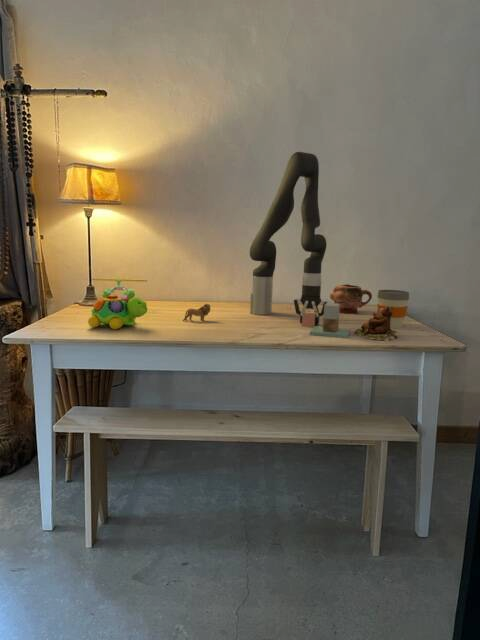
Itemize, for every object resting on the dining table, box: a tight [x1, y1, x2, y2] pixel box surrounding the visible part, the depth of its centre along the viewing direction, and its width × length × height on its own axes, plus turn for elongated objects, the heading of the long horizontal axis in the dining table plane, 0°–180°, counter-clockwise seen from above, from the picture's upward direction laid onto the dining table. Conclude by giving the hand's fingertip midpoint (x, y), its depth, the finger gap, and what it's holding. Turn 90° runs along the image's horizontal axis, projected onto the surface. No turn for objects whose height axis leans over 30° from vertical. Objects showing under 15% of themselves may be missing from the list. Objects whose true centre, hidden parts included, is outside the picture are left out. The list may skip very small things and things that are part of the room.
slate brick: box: [323, 302, 340, 319], centre depth 185 cm, size 5×7×5 cm
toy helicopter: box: [91, 278, 148, 300], centre depth 224 cm, size 25×9×15 cm, turn 93°
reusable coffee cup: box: [376, 289, 410, 329], centre depth 201 cm, size 13×13×15 cm
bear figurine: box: [353, 306, 399, 342], centre depth 182 cm, size 14×15×12 cm
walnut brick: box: [322, 316, 340, 332], centre depth 185 cm, size 5×7×5 cm
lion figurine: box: [182, 303, 211, 323], centre depth 202 cm, size 12×4×7 cm, turn 110°
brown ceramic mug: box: [329, 283, 373, 315], centre depth 230 cm, size 20×12×14 cm, turn 95°
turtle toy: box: [87, 294, 148, 330], centre depth 189 cm, size 17×23×12 cm
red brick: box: [301, 311, 316, 328], centre depth 199 cm, size 5×7×5 cm
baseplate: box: [309, 325, 351, 339], centre depth 186 cm, size 14×12×1 cm
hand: (309, 324), depth 199 cm, fingers closed on red brick, 5 cm apart
